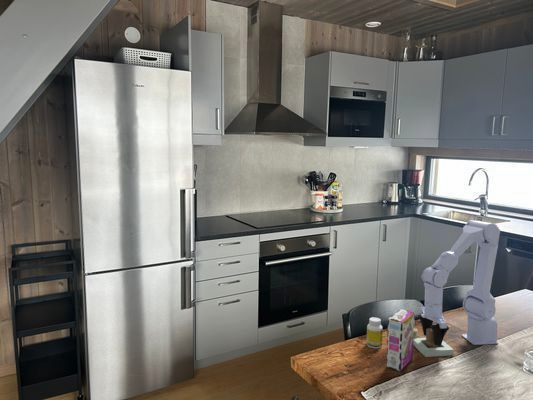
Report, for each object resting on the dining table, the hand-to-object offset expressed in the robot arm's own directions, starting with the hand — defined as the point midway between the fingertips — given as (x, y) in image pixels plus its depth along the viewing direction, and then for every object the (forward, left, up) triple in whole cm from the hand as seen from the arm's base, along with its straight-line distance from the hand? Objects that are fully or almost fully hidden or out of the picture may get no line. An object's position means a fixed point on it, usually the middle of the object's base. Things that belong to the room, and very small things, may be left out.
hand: (432, 339), depth 142 cm
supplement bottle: (+19, -5, -4) cm, 20 cm away
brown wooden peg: (0, 0, -3) cm, 3 cm away
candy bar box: (+15, +8, -4) cm, 17 cm away
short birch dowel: (+4, -8, -3) cm, 9 cm away
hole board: (0, 0, -3) cm, 3 cm away
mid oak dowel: (+3, -12, -3) cm, 13 cm away
